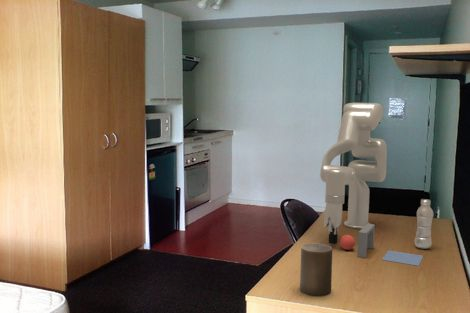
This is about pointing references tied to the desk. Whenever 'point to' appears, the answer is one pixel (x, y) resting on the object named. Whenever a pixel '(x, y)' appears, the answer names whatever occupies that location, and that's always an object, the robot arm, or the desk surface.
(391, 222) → the desk surface
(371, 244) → the bridge
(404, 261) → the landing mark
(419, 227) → the plastic bottle
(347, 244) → the ball
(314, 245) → the pillar candle
